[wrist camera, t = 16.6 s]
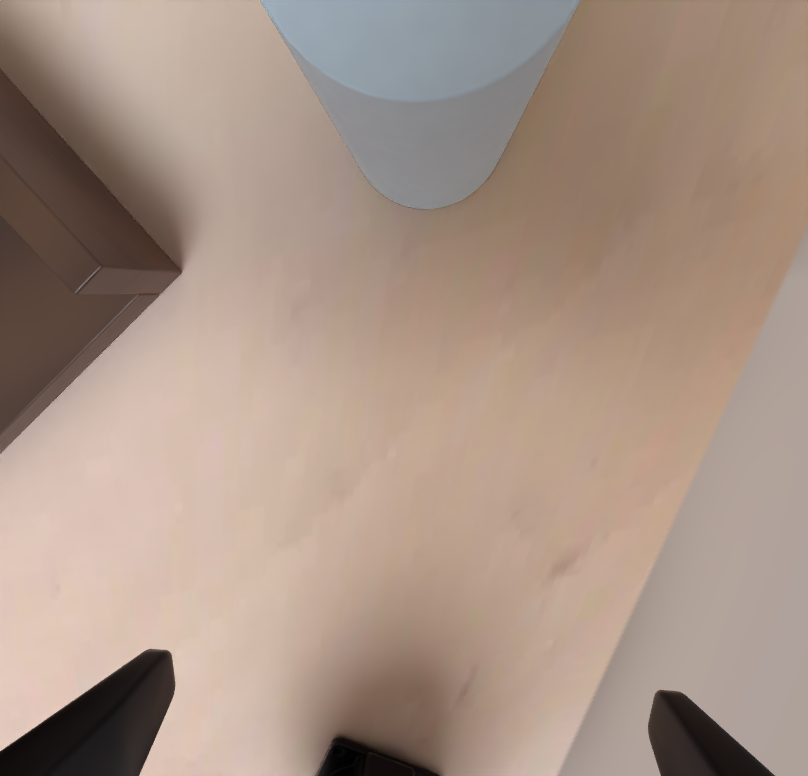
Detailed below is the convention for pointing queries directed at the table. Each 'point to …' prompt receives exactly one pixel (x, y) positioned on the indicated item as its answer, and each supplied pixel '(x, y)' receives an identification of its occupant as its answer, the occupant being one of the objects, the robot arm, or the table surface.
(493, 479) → the table surface
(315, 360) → the table surface
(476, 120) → the pale blue cylinder
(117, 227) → the tray
